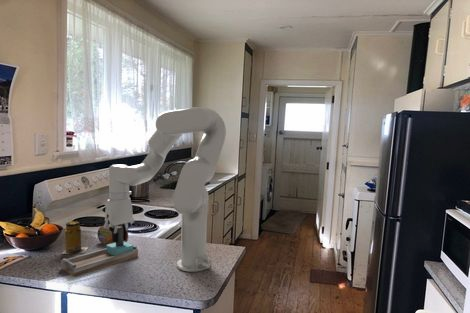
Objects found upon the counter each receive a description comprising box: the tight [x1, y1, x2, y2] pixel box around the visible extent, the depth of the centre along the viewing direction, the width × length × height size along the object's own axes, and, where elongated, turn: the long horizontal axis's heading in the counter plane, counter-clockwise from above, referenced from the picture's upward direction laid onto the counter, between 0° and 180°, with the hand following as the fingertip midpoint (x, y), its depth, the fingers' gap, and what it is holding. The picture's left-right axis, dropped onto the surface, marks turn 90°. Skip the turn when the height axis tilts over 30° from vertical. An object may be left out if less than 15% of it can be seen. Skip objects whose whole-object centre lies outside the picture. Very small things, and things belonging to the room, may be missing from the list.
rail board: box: [60, 241, 139, 278], centre depth 136 cm, size 10×26×4 cm, turn 140°
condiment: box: [61, 220, 89, 255], centre depth 147 cm, size 7×8×12 cm
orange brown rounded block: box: [97, 224, 129, 246], centre depth 156 cm, size 15×3×8 cm, turn 70°
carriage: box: [105, 226, 134, 256], centre depth 142 cm, size 8×7×10 cm
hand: (119, 240), depth 142 cm, fingers closed on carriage, 3 cm apart
